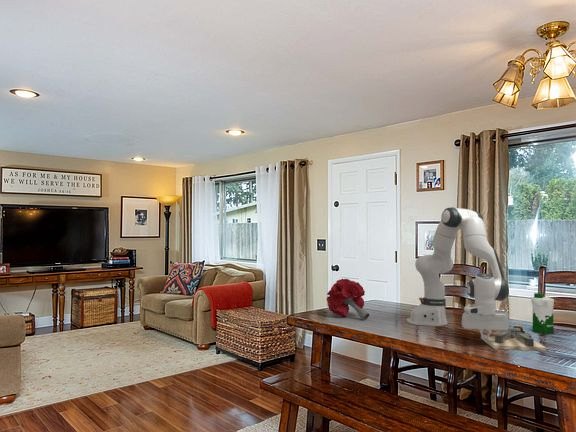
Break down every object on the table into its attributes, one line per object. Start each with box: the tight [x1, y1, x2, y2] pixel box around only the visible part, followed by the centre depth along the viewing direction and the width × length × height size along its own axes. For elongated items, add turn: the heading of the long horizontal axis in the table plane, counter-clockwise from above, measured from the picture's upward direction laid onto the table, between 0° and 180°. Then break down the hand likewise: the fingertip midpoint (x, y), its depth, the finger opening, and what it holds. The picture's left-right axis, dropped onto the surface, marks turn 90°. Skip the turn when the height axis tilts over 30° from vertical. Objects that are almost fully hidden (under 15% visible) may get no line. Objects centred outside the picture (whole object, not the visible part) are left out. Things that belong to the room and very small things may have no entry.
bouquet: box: [326, 278, 370, 321], centre depth 252 cm, size 21×23×30 cm
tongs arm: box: [494, 330, 510, 343], centre depth 195 cm, size 13×3×3 cm, turn 135°
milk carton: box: [530, 292, 555, 335], centre depth 218 cm, size 9×9×20 cm
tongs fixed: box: [507, 327, 535, 346], centre depth 194 cm, size 16×6×5 cm, turn 173°
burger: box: [512, 321, 532, 338], centre depth 209 cm, size 12×12×8 cm
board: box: [480, 335, 548, 352], centre depth 194 cm, size 22×18×2 cm
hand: (485, 339), depth 193 cm, fingers closed
